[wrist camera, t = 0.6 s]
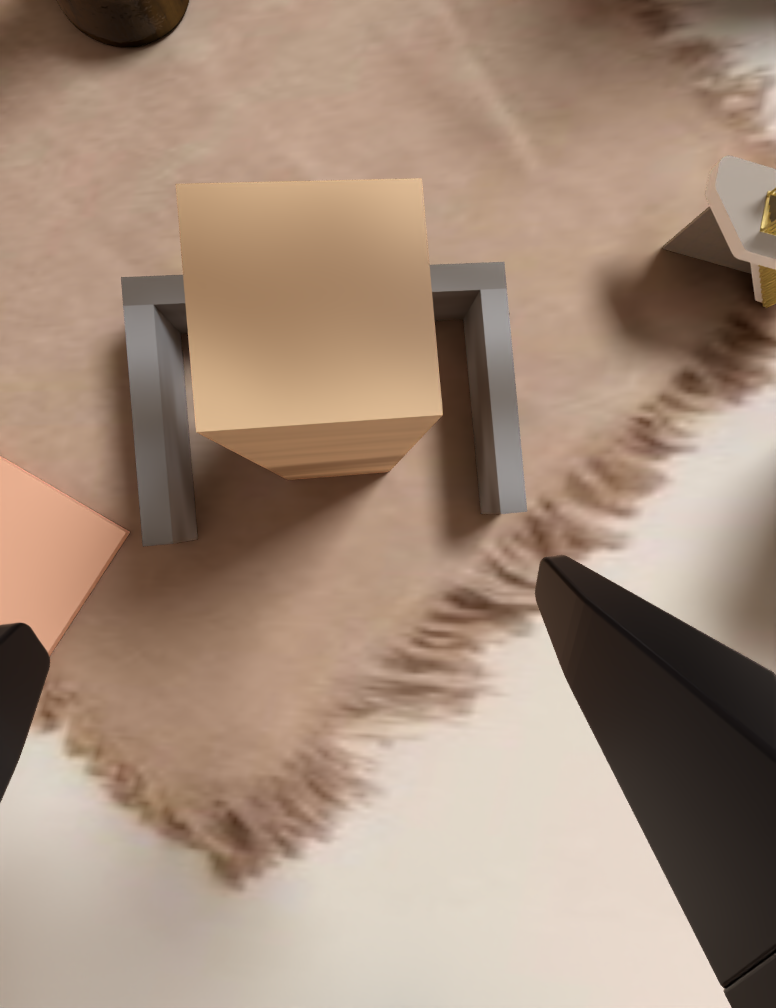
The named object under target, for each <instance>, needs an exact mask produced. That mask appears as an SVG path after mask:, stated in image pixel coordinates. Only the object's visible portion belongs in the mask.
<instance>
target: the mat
mask: <svg viewBox="0 0 776 1008" xmlns="http://www.w3.org/2000/svg"><path fill="white" fill-rule="evenodd" d="M129 533H130V532H129V531H128V530H126V529H124V528H122V527H121V526H119V525H117V524H116V523H114V522H112V521H111V520H109V519H107V518H105V517H104V516H102V515H100V514H99V513H97V512H95V511H93V510H92V509H90V508H88V507H87V506H85V505H83V504H82V503H80V502H78V501H76V500H75V499H73V498H71V497H70V496H68V495H66V494H64V493H63V492H61V491H59V490H58V489H56V488H54V487H53V486H51V485H49V484H47V483H46V482H44V481H42V480H41V479H39V478H37V477H35V476H34V475H32V474H30V473H29V472H27V471H25V470H24V469H22V468H20V467H18V466H17V465H15V464H13V463H12V462H10V461H8V460H7V459H5V458H3V457H1V456H0V625H2V624H10V623H18V622H21V623H25V624H27V625H29V626H30V627H31V628H32V630H33V631H34V633H35V634H36V636H37V637H38V639H39V640H40V642H41V643H42V644H43V646H44V647H45V649H46V650H47V652H48V654H49V656H50V655H51V653H52V652H53V650H54V649H55V647H56V646H57V644H58V643H59V641H60V640H61V638H62V636H63V635H64V633H65V632H66V630H67V629H68V627H69V626H70V624H71V623H72V621H73V620H74V618H75V616H76V615H77V613H78V612H79V610H80V609H81V607H82V606H83V604H84V603H85V601H86V599H87V598H88V596H89V595H90V593H91V592H92V590H93V589H94V587H95V586H96V584H97V583H98V581H99V579H100V578H101V576H102V575H103V573H104V572H105V570H106V569H107V567H108V566H109V564H110V563H111V561H112V559H113V558H114V556H115V555H116V553H117V552H118V550H119V549H120V547H121V546H122V544H123V543H124V541H125V539H126V538H127V536H128V535H129Z"/></svg>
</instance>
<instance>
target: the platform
mask: <svg viewBox="0 0 776 1008" xmlns="http://www.w3.org/2000/svg"><path fill="white" fill-rule="evenodd" d="M705 197H706V200H707V202H708V204H709V207H708V208H707V209H706V210H705V211H703V212H702V213H701V214H700V215H699V216H698V217H696V218H695V219H694V220H693V221H692V222H691V223H689V224H688V225H687V226H686V227H685V228H684V229H682V230H681V231H680V232H679V233H678V234H677V235H675V236H674V237H673V238H672V239H671V240H670V241H668V242H667V243H666V244H665V245H664V246H663V249H665V250H669V251H672V252H676V253H680V254H683V255H687V256H690V257H694V258H697V259H701V260H704V261H708V262H711V263H715V264H718V265H722V266H725V267H729V268H733V269H736V270H740V271H743V272H747V273H750V274H752V280H753V287H754V295H755V301H759V302H762V303H763V307H765V306H766V308H768V307H770V306H772V305H774V304H776V169H773V168H770V167H767V166H763V165H760V164H757V163H753V162H750V161H747V160H743V159H740V158H737V157H733V156H725V157H723V158H722V159H721V160H720V161H719V162H718V163H717V164H716V165H715V166H714V167H713V168H712V169H711V170H710V172H709V177H708V182H707V187H706V192H705Z"/></svg>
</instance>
